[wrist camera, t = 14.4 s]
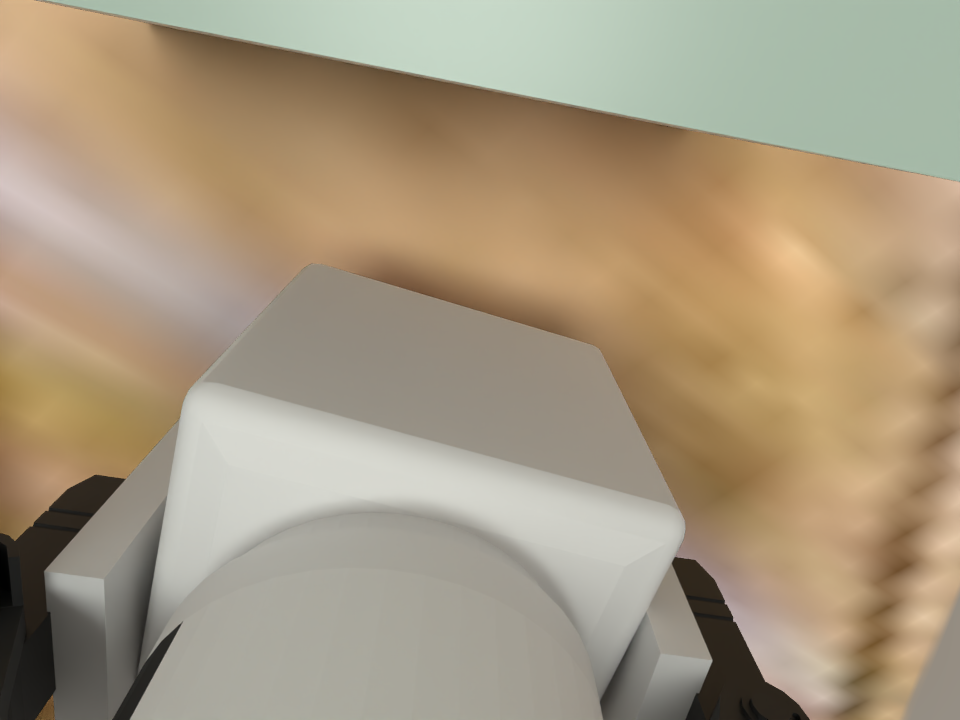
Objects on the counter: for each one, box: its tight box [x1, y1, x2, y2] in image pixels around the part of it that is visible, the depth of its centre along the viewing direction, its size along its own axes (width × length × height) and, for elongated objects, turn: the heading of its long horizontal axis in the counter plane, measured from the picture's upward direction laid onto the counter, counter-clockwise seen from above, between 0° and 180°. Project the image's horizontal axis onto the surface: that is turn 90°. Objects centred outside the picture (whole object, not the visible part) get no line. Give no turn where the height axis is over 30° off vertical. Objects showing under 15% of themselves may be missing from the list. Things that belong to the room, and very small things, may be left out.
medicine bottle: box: [112, 264, 685, 720], centre depth 11 cm, size 7×7×12 cm
